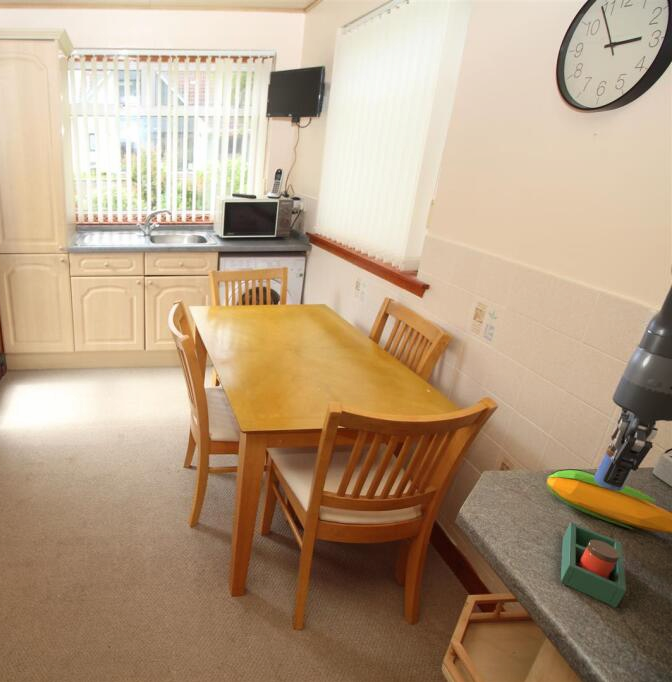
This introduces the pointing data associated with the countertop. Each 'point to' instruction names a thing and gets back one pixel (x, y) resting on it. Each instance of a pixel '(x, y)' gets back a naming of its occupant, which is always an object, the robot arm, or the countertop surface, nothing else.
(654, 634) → the countertop surface
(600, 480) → the blue and brown cylinder
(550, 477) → the corn
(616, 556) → the red pot
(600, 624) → the countertop surface
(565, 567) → the caddy
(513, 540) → the countertop surface
